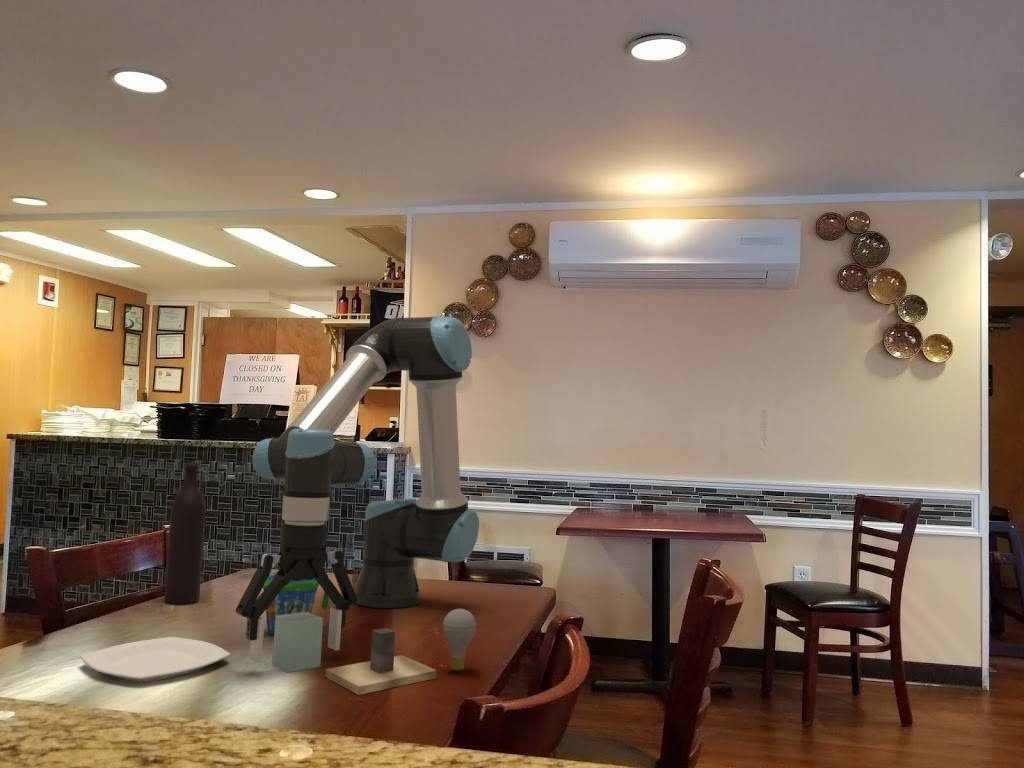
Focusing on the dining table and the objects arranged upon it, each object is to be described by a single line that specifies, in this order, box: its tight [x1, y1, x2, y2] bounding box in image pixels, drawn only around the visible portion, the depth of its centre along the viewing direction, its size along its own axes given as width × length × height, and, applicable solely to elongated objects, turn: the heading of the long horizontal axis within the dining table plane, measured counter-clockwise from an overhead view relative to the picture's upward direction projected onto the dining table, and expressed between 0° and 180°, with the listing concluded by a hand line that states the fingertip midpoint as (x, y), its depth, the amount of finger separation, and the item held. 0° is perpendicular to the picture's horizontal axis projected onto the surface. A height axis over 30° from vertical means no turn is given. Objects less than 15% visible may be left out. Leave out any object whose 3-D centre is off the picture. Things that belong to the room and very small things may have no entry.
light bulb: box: [442, 608, 477, 673], centre depth 124 cm, size 5×6×10 cm
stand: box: [325, 627, 437, 696], centre depth 119 cm, size 14×10×7 cm
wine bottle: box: [163, 462, 206, 606], centre depth 166 cm, size 7×7×30 cm
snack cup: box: [262, 573, 331, 635], centre depth 144 cm, size 16×10×10 cm
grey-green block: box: [272, 612, 324, 674], centre depth 124 cm, size 6×6×8 cm
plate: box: [80, 636, 231, 683], centre depth 121 cm, size 19×19×2 cm
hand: (295, 654), depth 123 cm, fingers open, 13 cm apart
